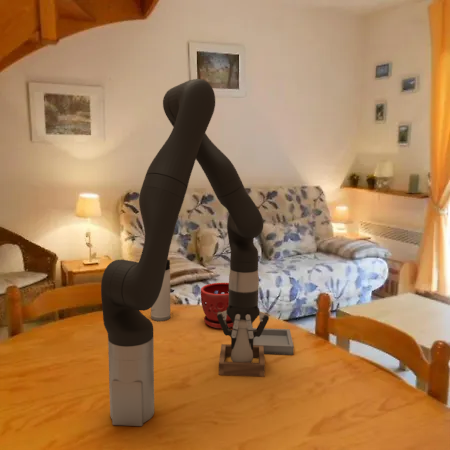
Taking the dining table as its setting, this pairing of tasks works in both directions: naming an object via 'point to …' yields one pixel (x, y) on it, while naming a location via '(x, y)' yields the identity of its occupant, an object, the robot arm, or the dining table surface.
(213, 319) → the plant pot
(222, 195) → the robot arm
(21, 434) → the dining table surface
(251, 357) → the salt shaker
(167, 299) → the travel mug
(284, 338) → the tray
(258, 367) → the rectangular frame
